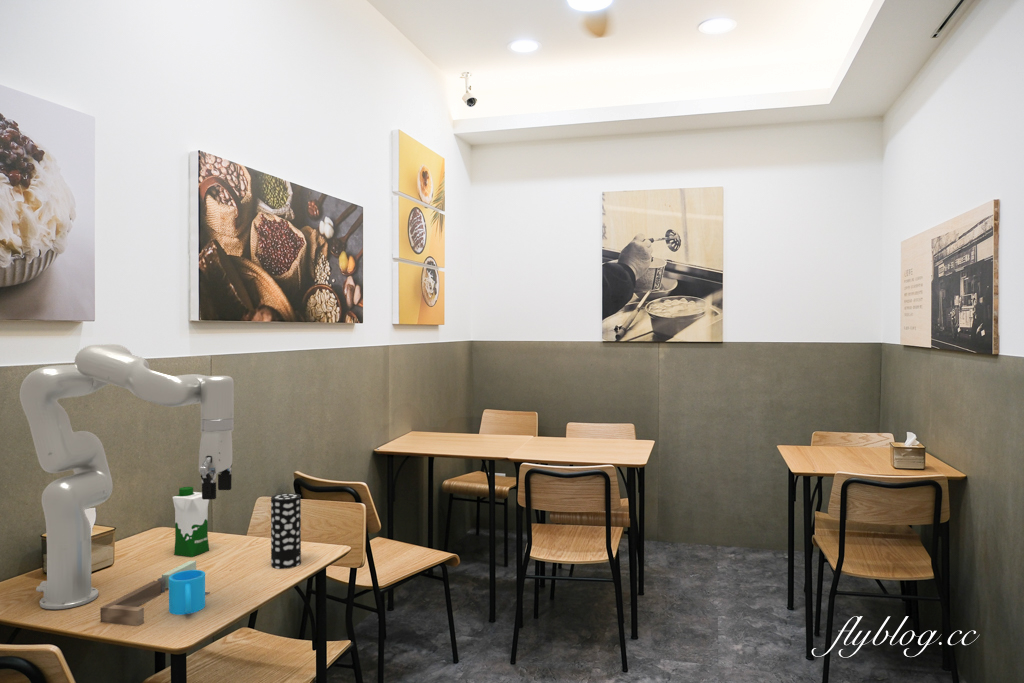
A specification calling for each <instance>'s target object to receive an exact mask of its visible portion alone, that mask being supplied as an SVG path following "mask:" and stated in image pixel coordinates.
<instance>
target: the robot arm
mask: <svg viewBox="0 0 1024 683" xmlns="http://www.w3.org/2000/svg"><path fill="white" fill-rule="evenodd" d="M108 385H113V386H116V387H119V388H122V389H126V390H129V392H131V393H132V394H133V395H134V396H136V398H139V399H140V400H143V401H146V402H150V403H152V404H156V405H160V406H163V407H166V408H168V407H170V408H176V407H177V408H178V407H184V406H189V405H196V404H200V433H201V436H200V442H199V452H198V472H199V474H200V478H201V480H200V482H201V492H202V499H209V500H216V499H217V489H218V491H231V490H232V481H233V480H232V473H233V470H232V466H233V457H234V456H233V437H232V436H233V432H234V431H235V430H234V429H235V428H234V424H235V423H234V422H235V421H234V420H235V418H234V416H235V414H234V412H235V411H234V410H235V408H234V406H235V405H234V404H235V401H234V400H235V396H234V395H235V388H234V387H235V383H234V379H233V377H231V376H230V375H206V374H205V375H204V374H197V373H191V374H179V375H169V374H166V373H162V372H158V371H156V370H152V369H150V363H149V362H148V360H147V359H145V358H144V357H142V356H138V355H135V354H133V353H132V352H131V351H130V350H129V349H128V348H127V347H125V346H123V345H120V344H111V343H109V344H90V345H87V346H85V347H83V348H81V349H80V350H79V351H78V352H77V353H76V355H75V357H74V364H62V365H61V364H58V365H56V364H55V365H48V366H43V367H39V368H36V369H35V370H33V371H31V372H29V373H28V375H26V377H25V378H24V379H23V381H22V383H21V386H20V389H19V400H20V401H19V402H20V404H21V408H22V410H23V412H24V415H25V417H26V419H27V423H28V425H29V429H30V433H31V437H32V440H33V444H34V449H35V453H36V456H37V460H38V463H39V465H40V467H41V469H42V470H43V471H45V472H47V473H50V474H57V473H58V474H59V473H64V472H67V471H71V470H72V471H73V474H71V475H67V476H63V477H59V478H57V479H55V480H53V481H51V482H50V483H49V484H48V485H47V486H46V487H45V488H44V490H43V491H42V494H41V506H42V511H43V514H44V519H45V529H46V580H42V581H41V582H40V584H39V585H38V586H36V589H35V591H36V592H38V593H39V592H41V593H43V597H42V598H41V599H39V606H40V608H42V609H45V610H64V609H71V608H75V607H79V606H83V605H86V604H89V603H91V602H92V601H94V600H95V599H97V598H98V597H99V590H98V589H97V588H95V587H93V586H92V528H91V524H90V520H89V518H88V517H87V514H86V512H85V510H87V509H90V508H93V507H96V506H99V505H101V504H103V503H105V502H106V501H108V499H109V498H110V497H111V495H112V493H113V486H114V485H113V479H112V474H111V470H110V468H109V463H108V459H107V455H106V452H105V449H104V446H103V445H104V444H103V443H102V441H101V440H100V438H99V437H98V436H97V435H96V434H95V433H93V432H90V431H87V430H80V431H79V430H78V431H73V428H72V424H71V420H70V417H69V414H68V413H67V411H66V410H65V408H64V407H63V406H62V405H61V404H60V403H59V402H58V400H61V399H67V398H76V397H82V396H88V395H90V394H92V393H95V392H97V391H99V390H101V389H103V388H104V387H106V386H108ZM216 478H217V482H215V481H216Z"/></svg>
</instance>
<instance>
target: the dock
mask: <svg viewBox="0 0 1024 683" xmlns="http://www.w3.org/2000/svg"><path fill="white" fill-rule="evenodd" d="M163 593H166V588H165V578H162V577H158V578H157V580H152V581H150V582H148V583H147V584H145V585H143V586H140V587H138V588H137V589H134V590H133V591H131V592H127V594H125V595H123V596H121V597H118V598H116V599H115V600H113V601H111V602H109V603H107V604H105V605H102V606H101V607H100V611H99V612H100V614H99V615H100V618H99V620H100V623H103V624H114V625H124V626H125V625H126V626H133V627H134V626H135V627H136V626H138V627H139V626H140V625H142V624H143V623H144V622H145V608H144V607H143V606H142V605H144V604H146V603H147V602H149V601H151V600H153V599H155V598H157V597H159V596H160V595H161V594H163ZM210 593H211V592H210V591H209V592H208V591H205V597H206V596H208V595H210ZM141 606H142V607H141Z"/></svg>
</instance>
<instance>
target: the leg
mask: <svg viewBox="0 0 1024 683" xmlns="http://www.w3.org/2000/svg"><path fill="white" fill-rule="evenodd" d="M186 570H197V560H188V561H186V562H184V563H183V564H181V565H178V566H176V567H174V568H173V569H172V568H171V569H170V570H167V571H166V572H164V573H163V574H161V578H165V589H169V577H170V576H171V575H172V574H175V573H177V572H181V571H186Z"/></svg>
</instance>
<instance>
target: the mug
mask: <svg viewBox="0 0 1024 683" xmlns="http://www.w3.org/2000/svg"><path fill="white" fill-rule="evenodd" d="M205 592H206V572H205V571H204V570H201V569H196V570H186V571H181V572H177V573H175V574H172V575H171V576H170V577H169V588H168V613H169V614H172V615H178V616H181V615H190V614H194V613H197V612H200V611H201V610H203V609H205V606H206V596H205ZM199 610H200V611H199Z"/></svg>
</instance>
